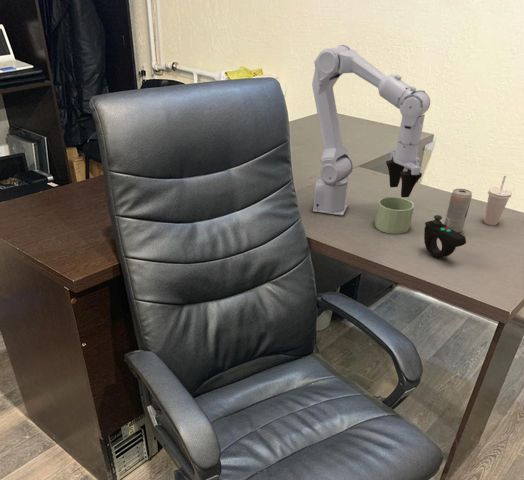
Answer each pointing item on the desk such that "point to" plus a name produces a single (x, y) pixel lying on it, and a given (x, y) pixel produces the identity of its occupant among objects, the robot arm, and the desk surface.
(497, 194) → the smoothie
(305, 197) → the desk surface
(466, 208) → the energy drink
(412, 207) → the cup
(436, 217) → the controller
